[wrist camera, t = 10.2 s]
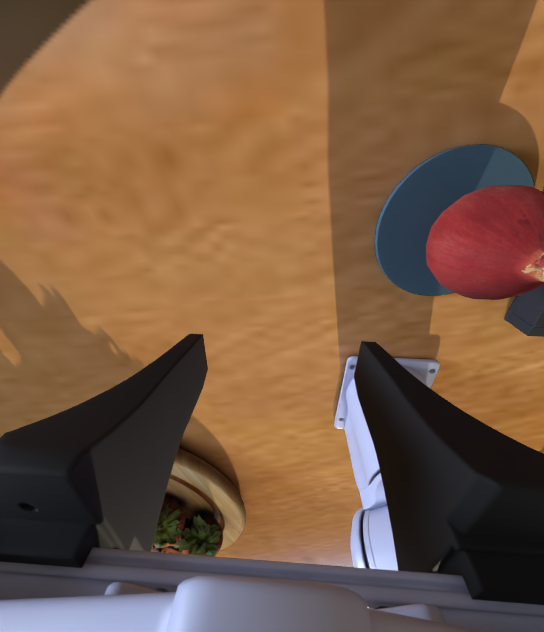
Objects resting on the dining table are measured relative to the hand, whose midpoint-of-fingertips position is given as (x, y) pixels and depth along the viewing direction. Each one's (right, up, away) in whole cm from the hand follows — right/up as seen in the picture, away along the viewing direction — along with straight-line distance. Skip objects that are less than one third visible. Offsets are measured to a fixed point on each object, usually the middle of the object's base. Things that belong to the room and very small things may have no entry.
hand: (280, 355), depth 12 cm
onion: (+12, +8, +5) cm, 15 cm away
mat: (+12, +8, +6) cm, 15 cm away
